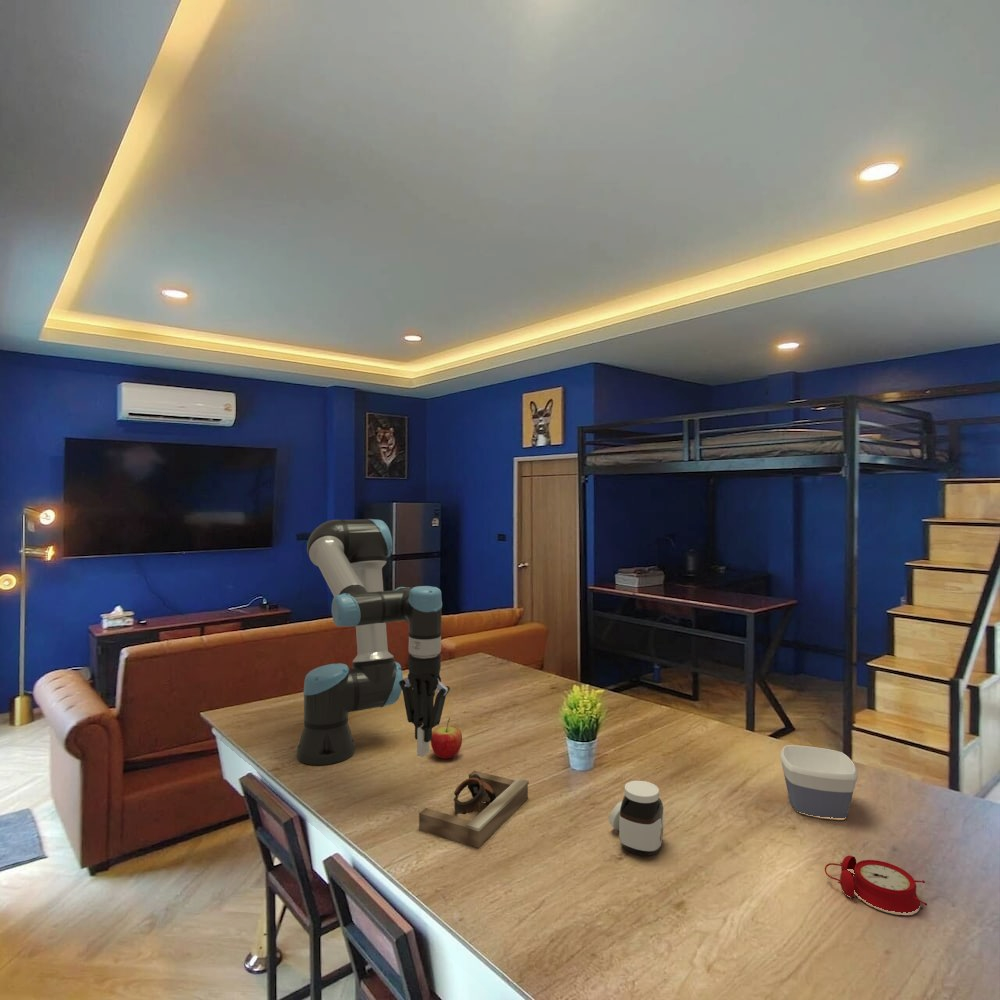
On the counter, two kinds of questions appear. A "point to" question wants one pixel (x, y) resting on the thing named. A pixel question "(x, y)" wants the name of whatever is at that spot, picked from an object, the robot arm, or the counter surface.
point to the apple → (446, 741)
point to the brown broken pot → (479, 793)
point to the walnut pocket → (486, 821)
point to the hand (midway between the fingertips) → (423, 753)
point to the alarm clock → (879, 884)
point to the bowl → (818, 780)
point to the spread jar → (639, 818)
